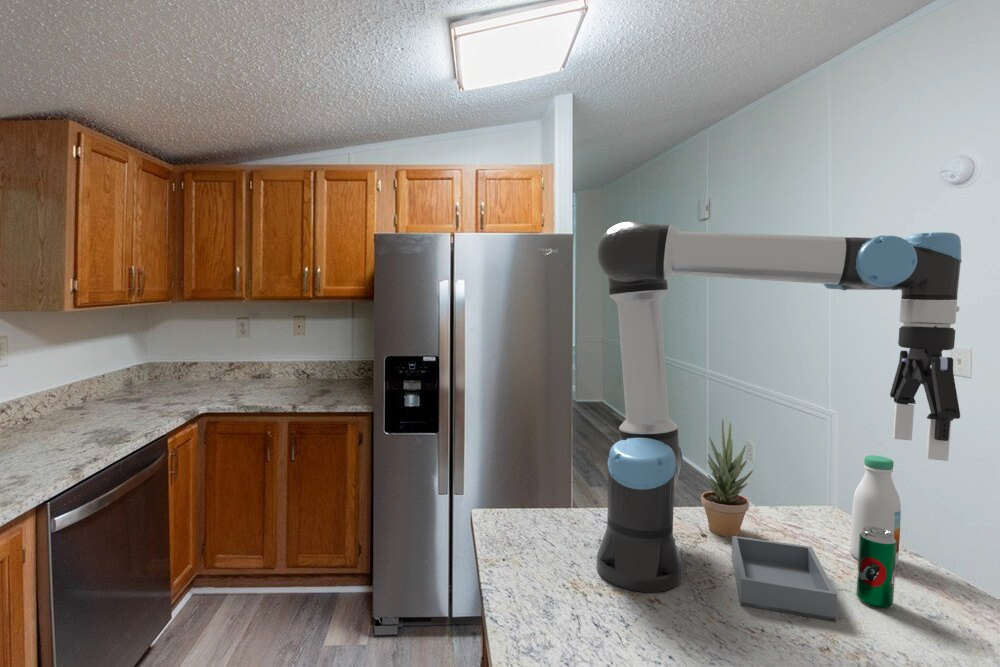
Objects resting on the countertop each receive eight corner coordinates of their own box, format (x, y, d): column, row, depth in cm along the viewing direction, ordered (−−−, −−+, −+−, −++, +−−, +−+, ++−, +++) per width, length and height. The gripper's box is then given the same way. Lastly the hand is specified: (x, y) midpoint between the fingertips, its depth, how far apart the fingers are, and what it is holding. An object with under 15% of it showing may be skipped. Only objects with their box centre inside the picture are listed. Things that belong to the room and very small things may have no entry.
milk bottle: (884, 572, 101) (889, 466, 100) (841, 554, 107) (846, 455, 106) (906, 563, 104) (912, 460, 103) (864, 547, 111) (869, 450, 110)
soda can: (899, 612, 87) (903, 539, 87) (864, 608, 88) (868, 536, 88) (883, 595, 92) (887, 526, 92) (850, 592, 93) (854, 524, 93)
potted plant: (719, 518, 125) (723, 412, 124) (757, 534, 117) (761, 420, 115) (689, 527, 120) (693, 416, 118) (726, 544, 112) (731, 425, 110)
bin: (740, 605, 89) (741, 579, 89) (731, 557, 106) (732, 535, 105) (835, 621, 85) (836, 594, 84) (810, 569, 101) (811, 546, 101)
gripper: (996, 329, 79) (985, 472, 80) (920, 323, 103) (913, 434, 104) (934, 327, 81) (924, 466, 83) (874, 322, 105) (867, 430, 106)
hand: (918, 448), depth 93 cm, fingers open, 13 cm apart
